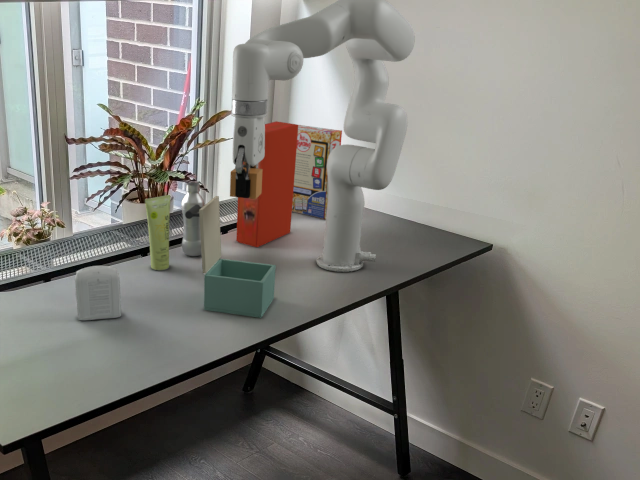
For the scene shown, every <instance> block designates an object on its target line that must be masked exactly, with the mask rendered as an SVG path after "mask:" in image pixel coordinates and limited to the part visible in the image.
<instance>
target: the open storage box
mask: <svg viewBox="0 0 640 480" xmlns="http://www.w3.org/2000/svg"><path fill="white" fill-rule="evenodd" d="M276 267H277V266H276V264H269V263H261V262H253V261H244V260H236V259H227V258H220V259H219V260H218V261H217V262H216V263H215V264H214V265H213V266H212V267H211V268H210V269H209V270H208V272H207V273H204V275H203V311H208V312H216V313H223V314H231V315H236V316H237V315H238V316H245V317H250V318H251V317H252V318H259V319H262V318H263V316H265V313H266V312H267V310H268V309H269V307H270V305H271V304H272V302H273V301H274V300H275V288H276V287H275V285H276V269H277V268H276Z"/></svg>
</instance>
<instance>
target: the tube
mask: <svg viewBox="0 0 640 480" xmlns="http://www.w3.org/2000/svg"><path fill="white" fill-rule="evenodd" d="M144 204H145V211H146V217H147V218H146V220H147V230H148V241H149V255H150V256H149V257H150V269H152V270H154V271H165V270H167V269H169V268H170V213H171V212H170V211H171V210H170V209H171V194H166V195H161V196H156V197H151V198H145V199H144Z"/></svg>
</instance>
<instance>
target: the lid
mask: <svg viewBox="0 0 640 480" xmlns="http://www.w3.org/2000/svg"><path fill="white" fill-rule="evenodd" d="M198 212H199V213H198ZM220 213H221V212H220V196H219V195H215V196H214V197H213V198H212V199H210V200H209V201H207V203H205V205H204V206H203V207H200V206H199V205H198V204H196V205H194V206H193V207H192V208H191V209H189V210H188V211H187V212H186V213H185V217H186V218H187V219H191V218H192V217H200V234H201V252H202V254H201V266H202V267H201V268H202V274H206V273H207V272H208V271H209V270H210V269H211V268H212V266H213V265H214V264H215V263H216V262H217V261H218V260H219V259H222V258H221V257H222V240H221V215H220Z"/></svg>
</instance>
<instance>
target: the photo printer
mask: <svg viewBox="0 0 640 480" xmlns="http://www.w3.org/2000/svg"><path fill="white" fill-rule="evenodd" d="M120 278H121V277H120V273H119V272H118V268H117V267H114V266H108V265H92V266H87V267H84V268H81V269H78V270H76V271H75V277H74V287H75V289H74V290H75V301H76V303H75V304H76V313H77V315H76V316H77V320H79V321H91V320H92V321H94V320H104V319H115V318H116V319H117V318H120V317H121V316H122V301H121V298H122V297H121V279H120Z"/></svg>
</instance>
